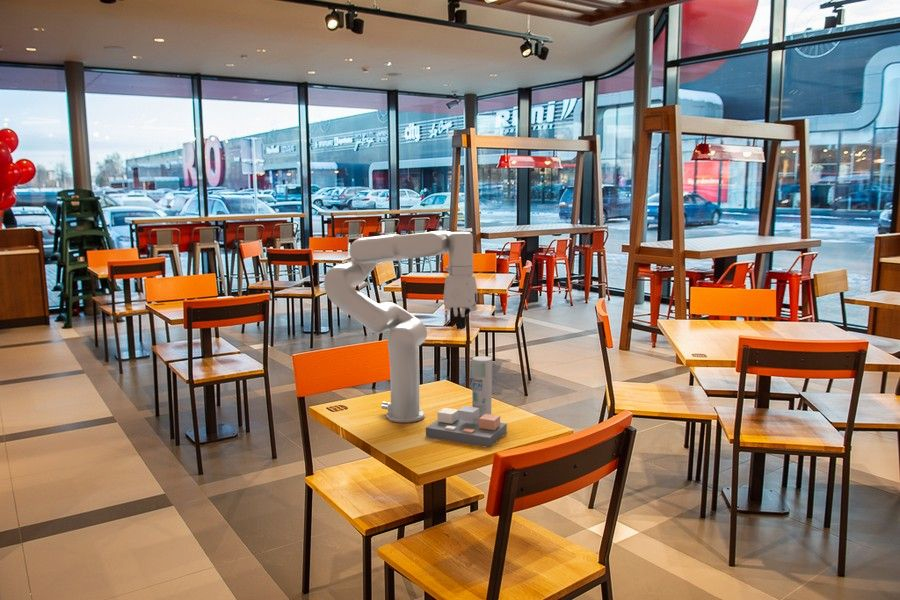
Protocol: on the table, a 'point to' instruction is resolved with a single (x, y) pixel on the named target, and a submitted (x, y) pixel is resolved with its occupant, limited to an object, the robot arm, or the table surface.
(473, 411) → the grey key
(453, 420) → the cream key
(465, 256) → the robot arm
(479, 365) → the spray can
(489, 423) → the terracotta key
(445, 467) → the table surface
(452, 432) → the key pad
